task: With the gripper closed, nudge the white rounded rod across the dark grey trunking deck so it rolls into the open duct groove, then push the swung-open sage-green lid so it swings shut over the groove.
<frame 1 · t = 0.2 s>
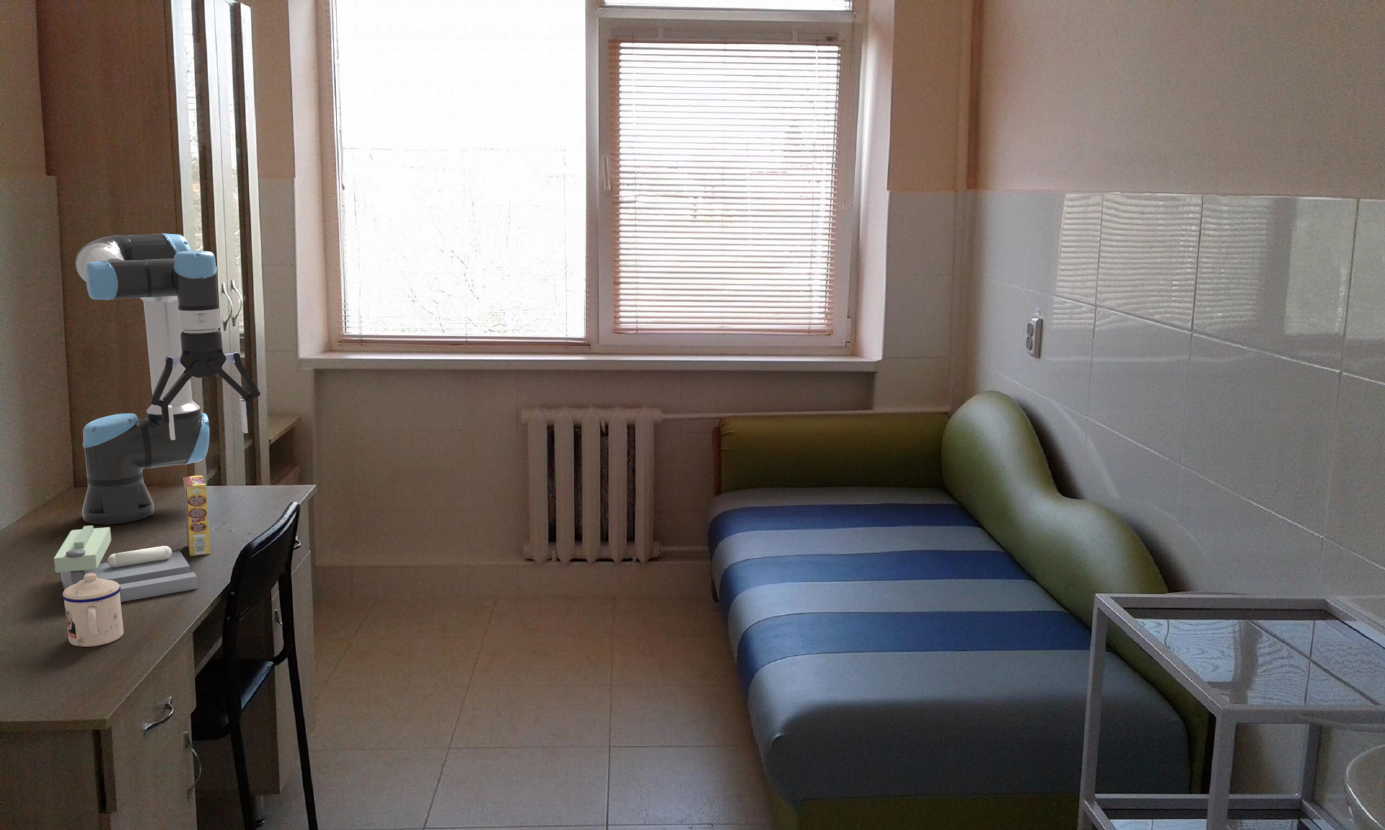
hand: (209, 435, 241), 27 cm above the table, fingers open, 13 cm apart
white rounded rod: (140, 556, 240), point 4 cm above the table, touching deck
teacup with lid: (96, 641, 208), on the table
deck: (129, 585, 235), on the table
candy box: (199, 550, 257), on the table
cover: (83, 546, 233), point 8 cm above the table, hinge at 75.0°
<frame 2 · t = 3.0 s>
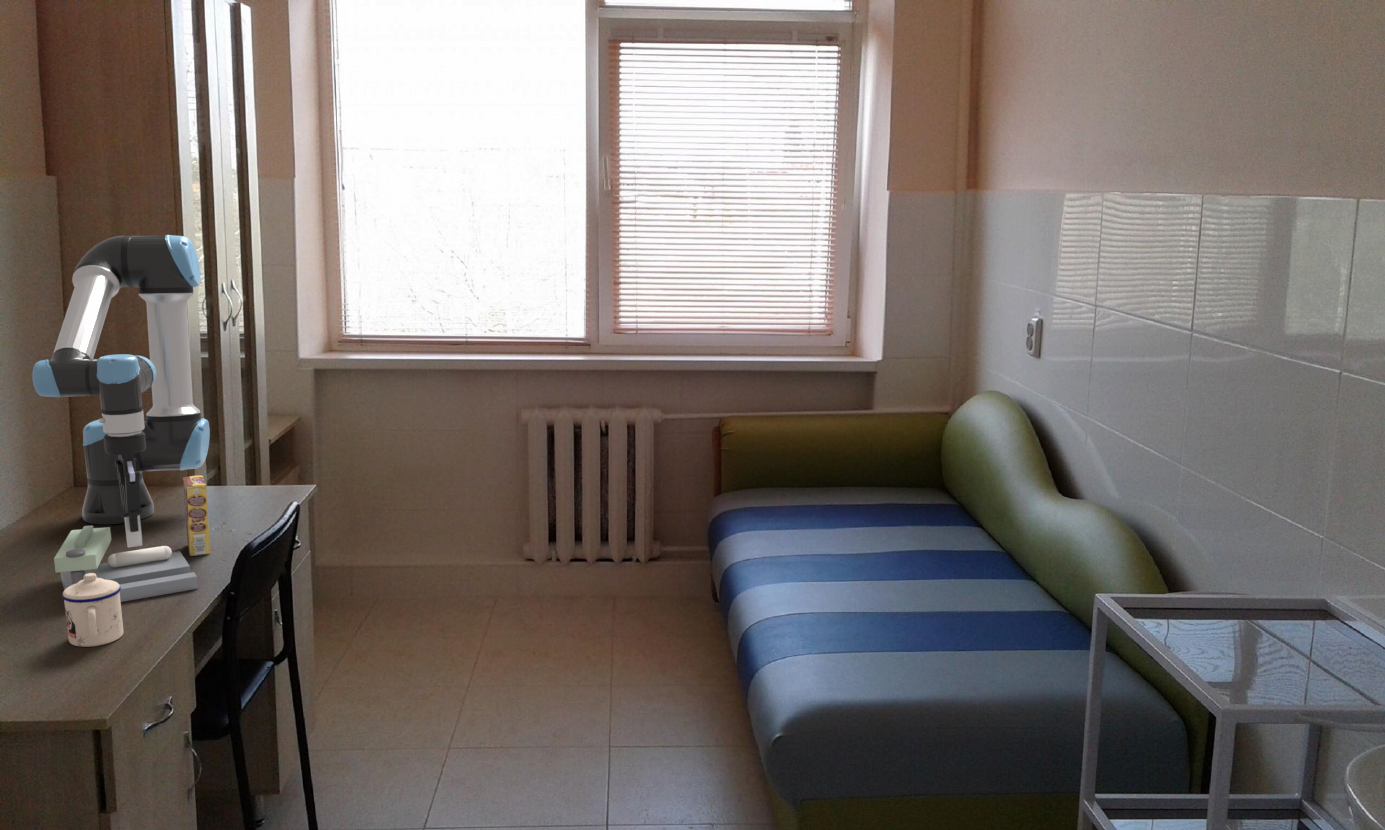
hand: (134, 545, 245), 5 cm above the table, fingers closed
nothing on the table moved.
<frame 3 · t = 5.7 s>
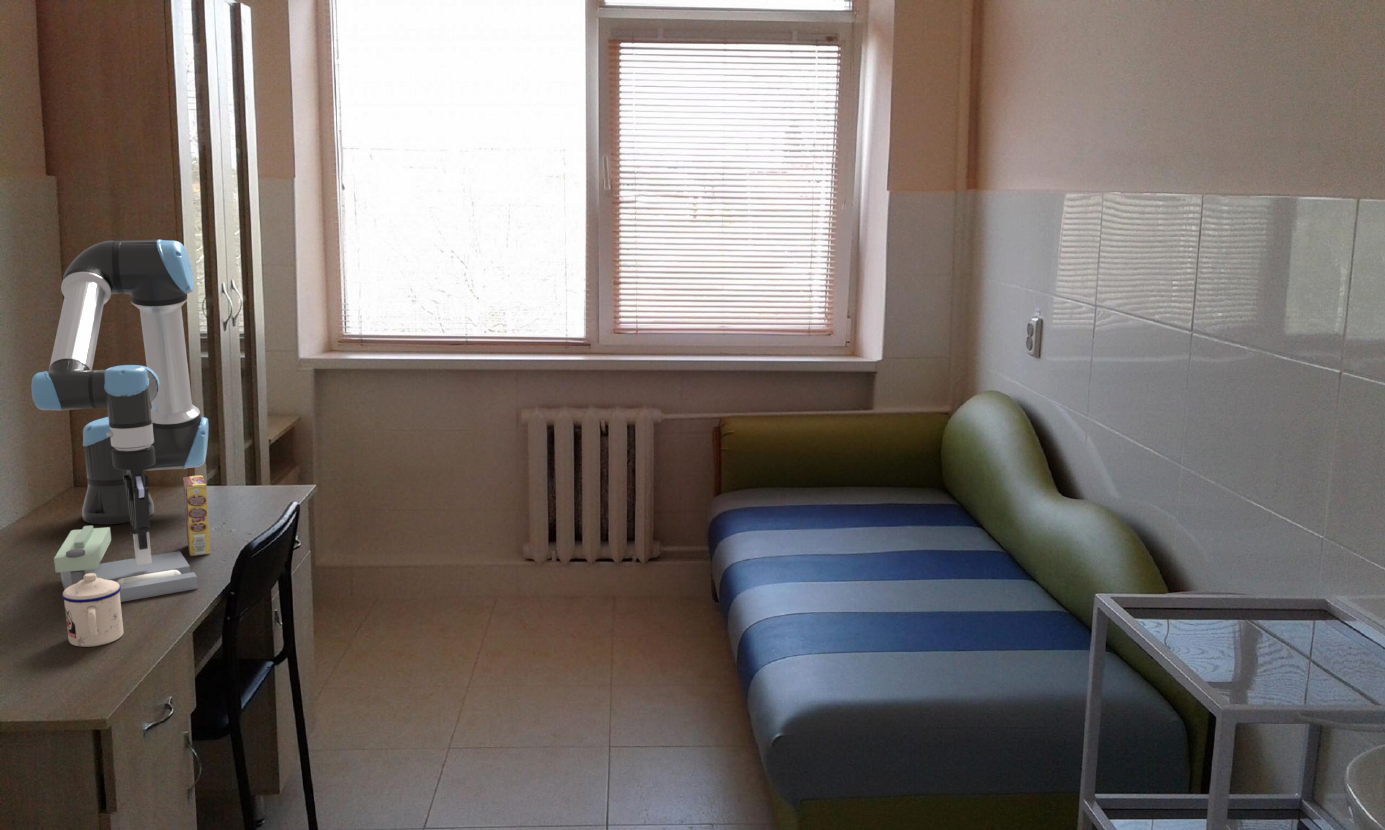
hand: (143, 563, 236), 4 cm above the table, fingers closed
white rounded rod: (148, 581, 233), point 2 cm above the table, tilted 57°, touching deck
everything else where it was.
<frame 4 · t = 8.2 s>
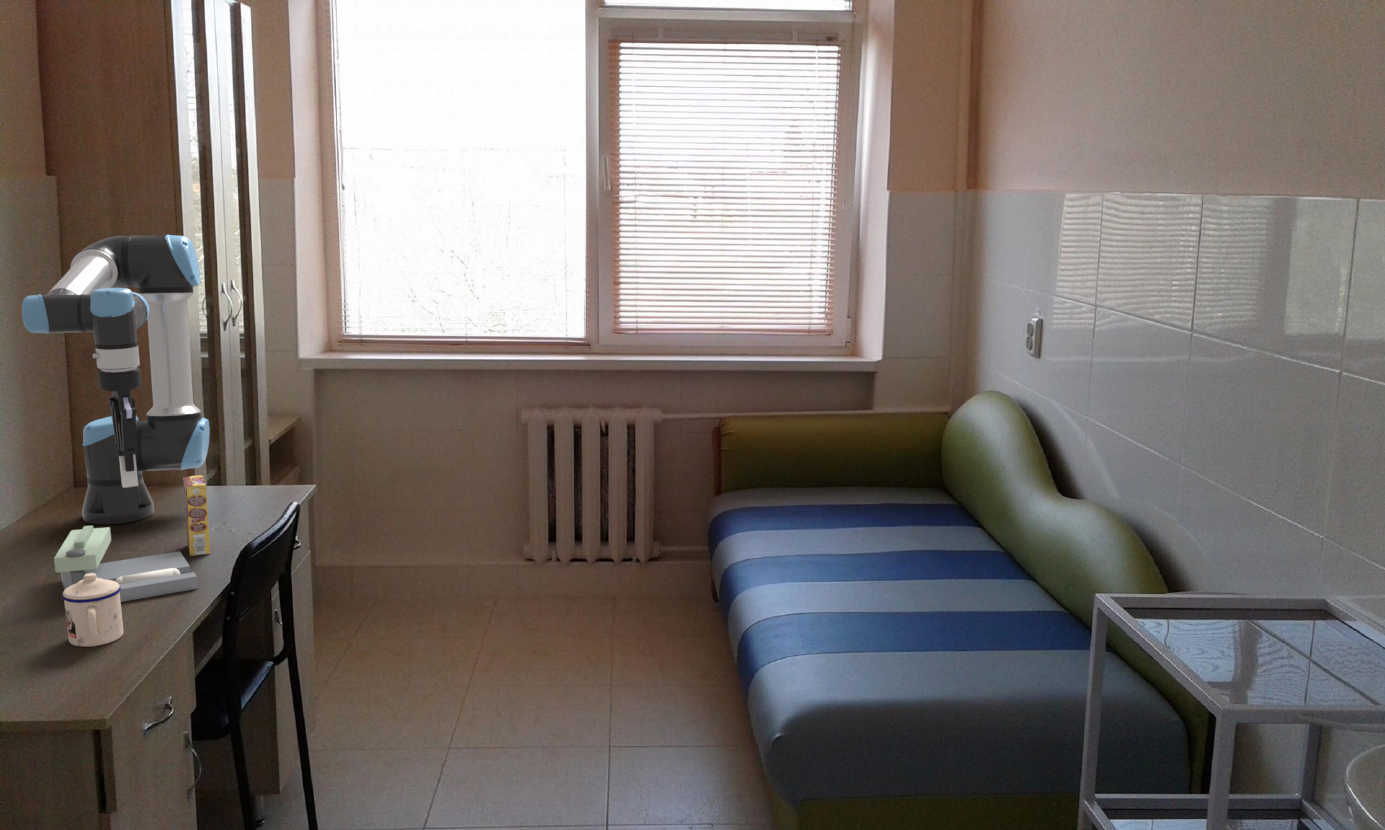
hand: (130, 485, 238), 18 cm above the table, fingers closed
white rounded rod: (147, 579, 234), point 2 cm above the table, tilted 8°, touching deck
everything else where it was.
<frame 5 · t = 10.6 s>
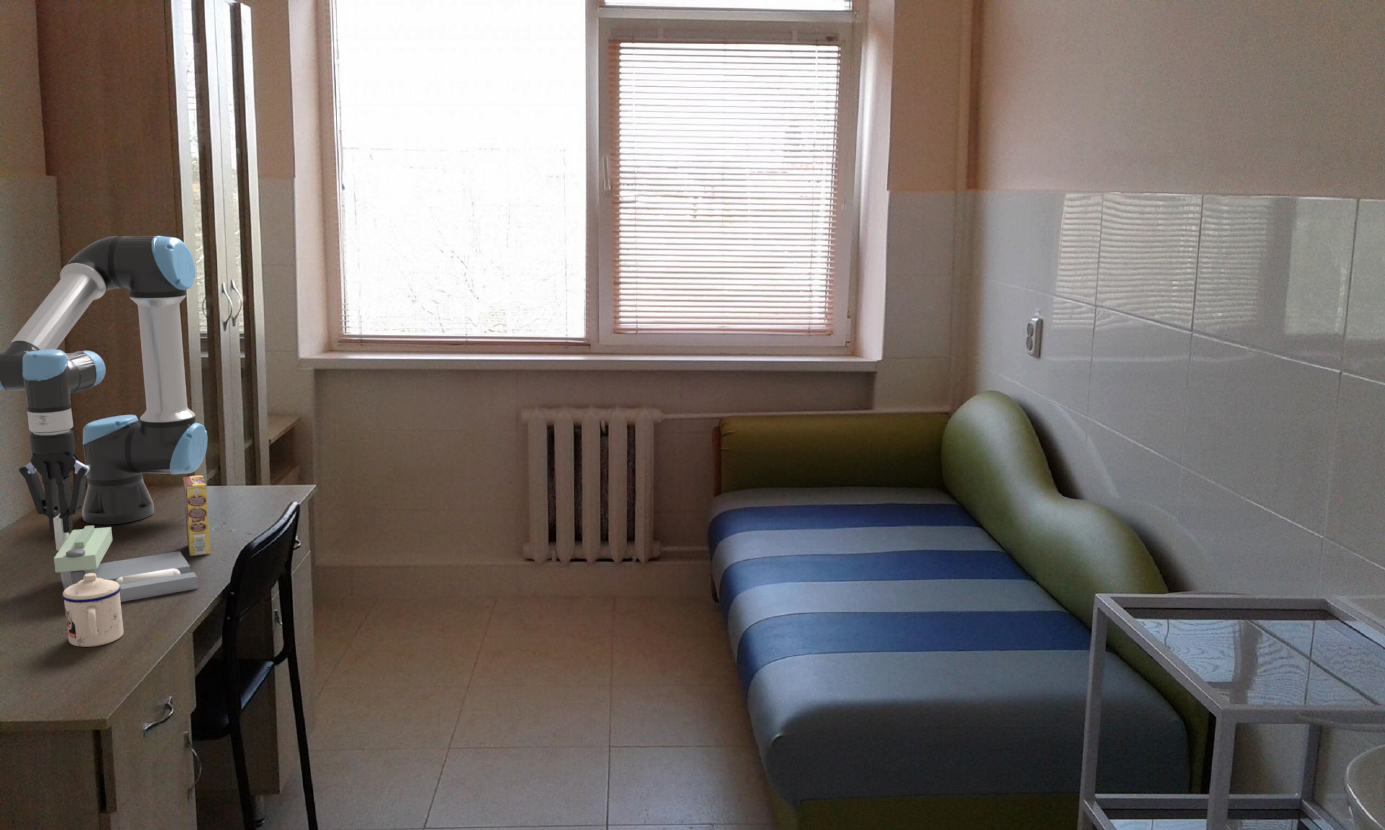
hand: (63, 548, 236), 7 cm above the table, fingers closed
white rounded rod: (148, 579, 233), point 2 cm above the table, tilted 22°, touching deck
cover: (83, 546, 233), point 8 cm above the table, hinge at 74.2°, touching gripper
everything else where it was.
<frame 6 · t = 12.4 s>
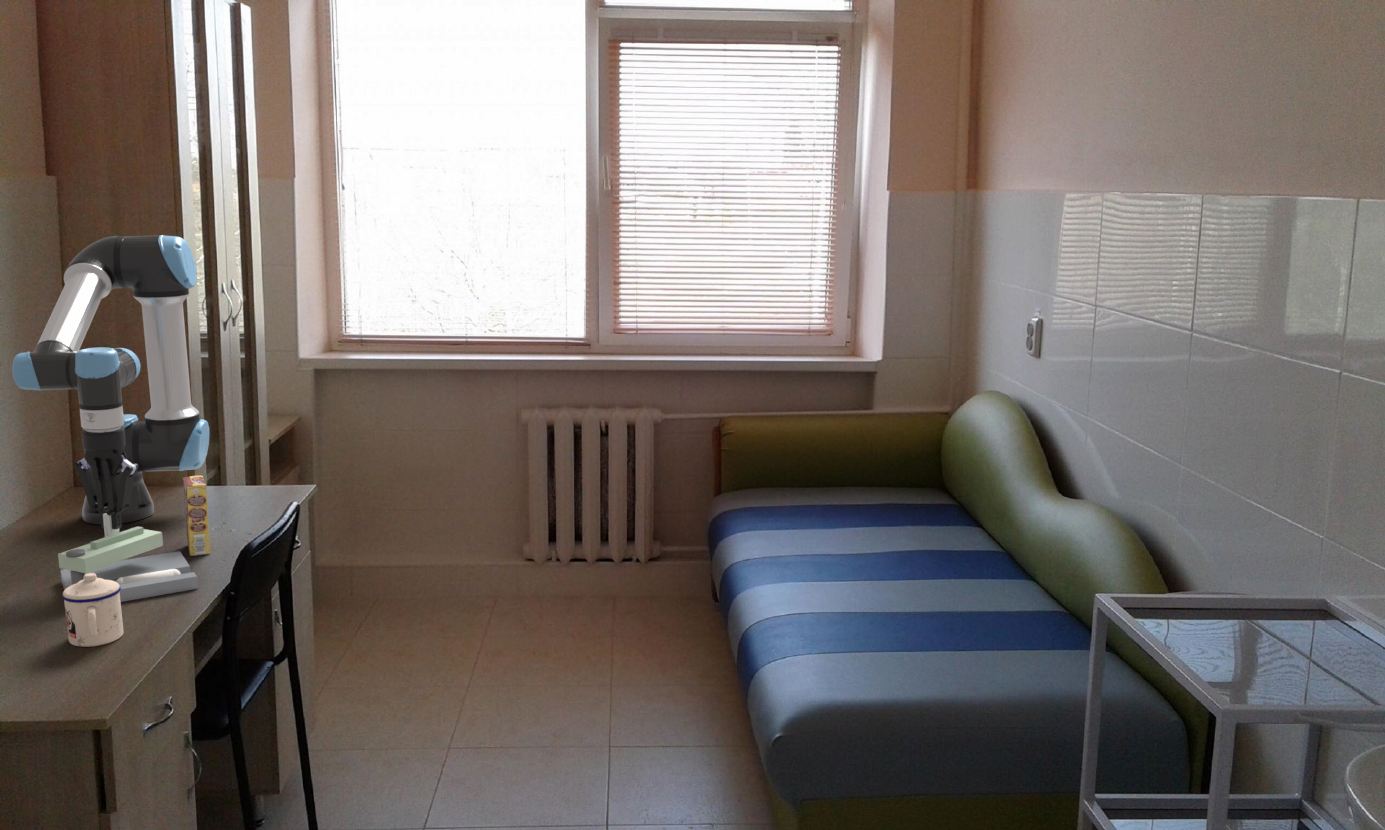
hand: (113, 543, 238), 7 cm above the table, fingers closed
white rounded rod: (148, 580, 233), point 2 cm above the table, tilted 33°, touching deck
cover: (110, 547, 232), point 8 cm above the table, hinge at 33.6°, touching gripper
everything else where it was.
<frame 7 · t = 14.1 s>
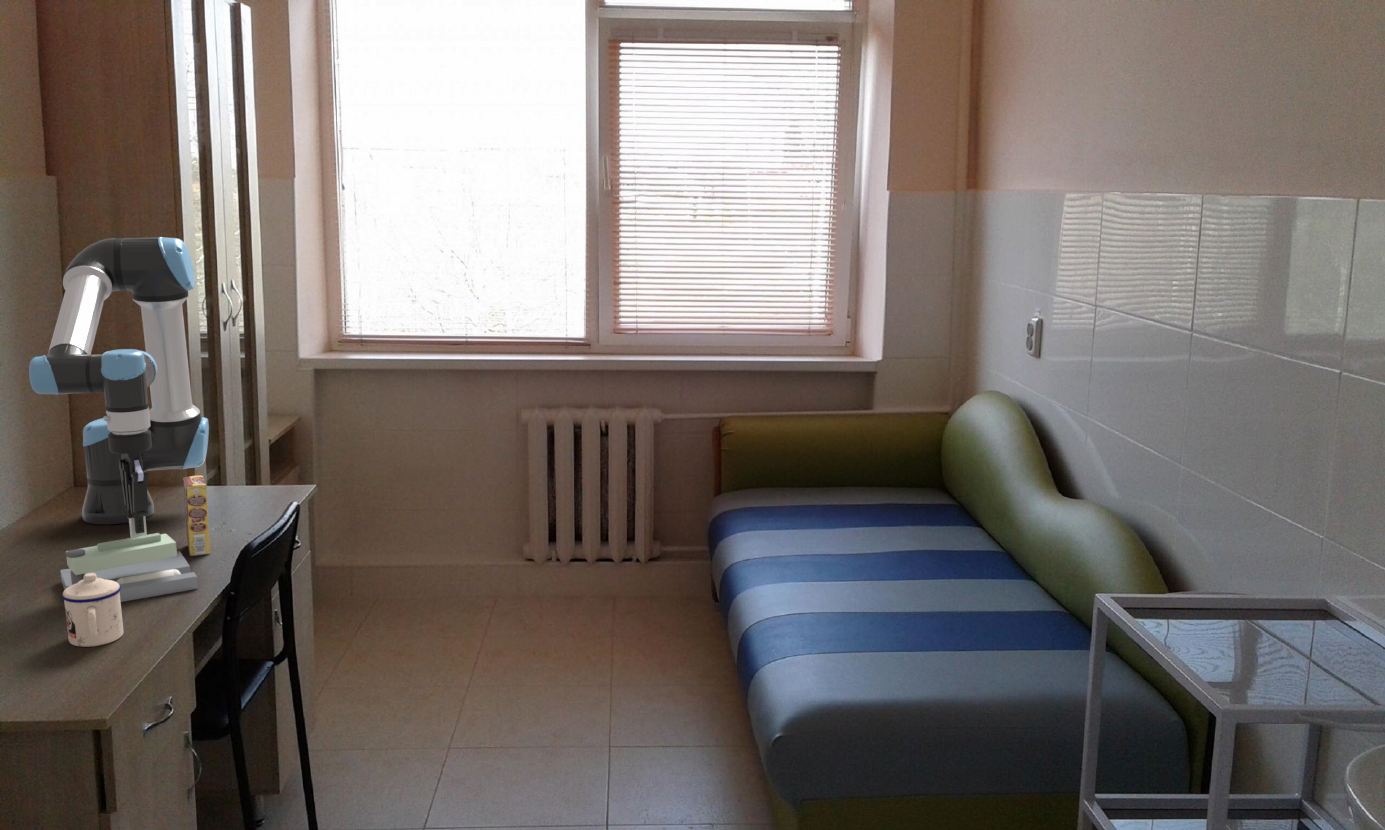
hand: (139, 547, 236), 7 cm above the table, fingers closed
white rounded rod: (148, 580, 233), point 2 cm above the table, tilted 42°, touching deck
cover: (120, 550, 230), point 8 cm above the table, hinge at 5.6°, touching gripper
everything else where it was.
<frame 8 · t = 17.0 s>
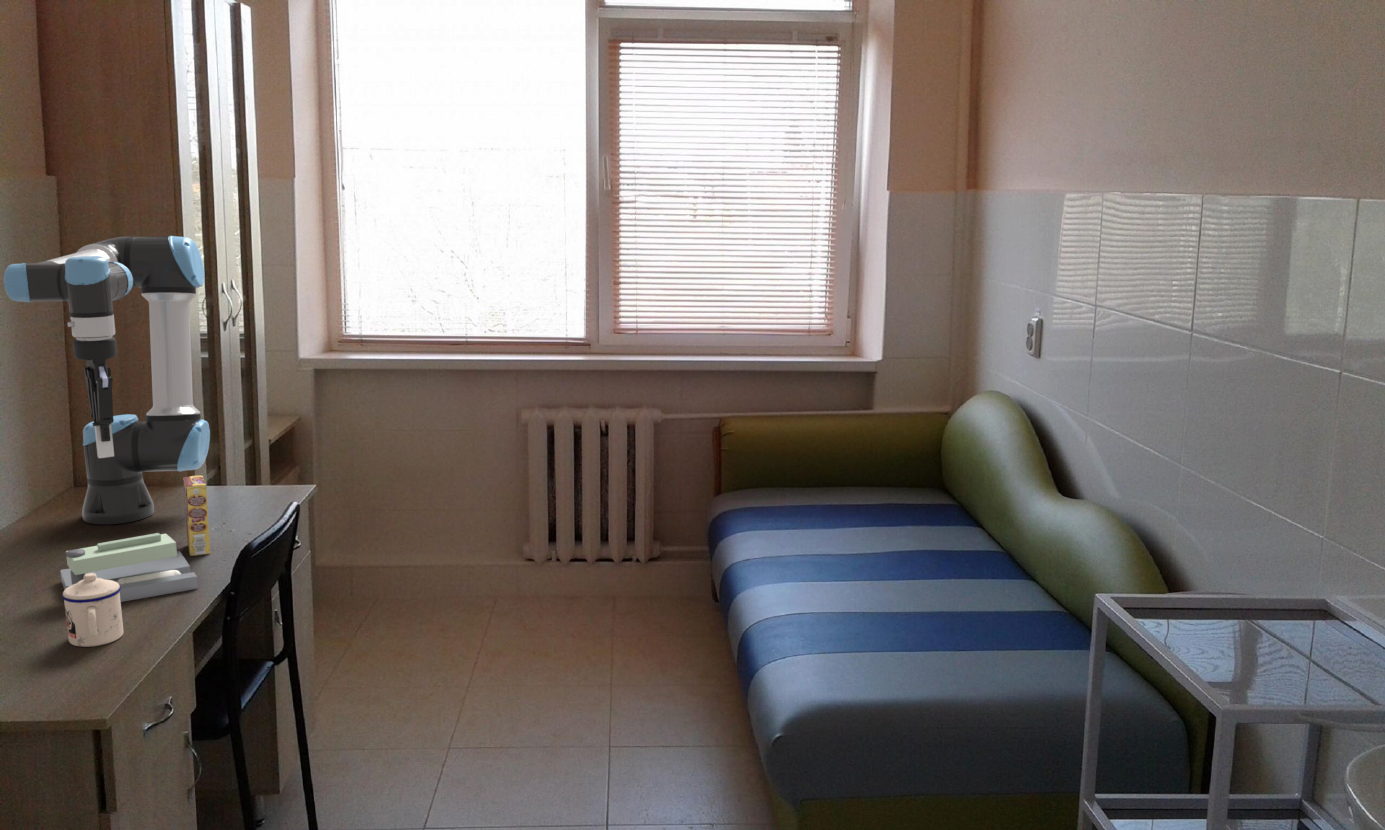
hand: (106, 456, 236), 24 cm above the table, fingers closed
white rounded rod: (148, 581, 233), point 2 cm above the table, tilted 59°, touching deck
cover: (120, 550, 230), point 8 cm above the table, hinge at 5.6°
everything else where it was.
at the end: white rounded rod inside the target area (1.6 cm from its centre), point 1.7 cm above the table; cover at +6° (first picture: +75°) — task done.
